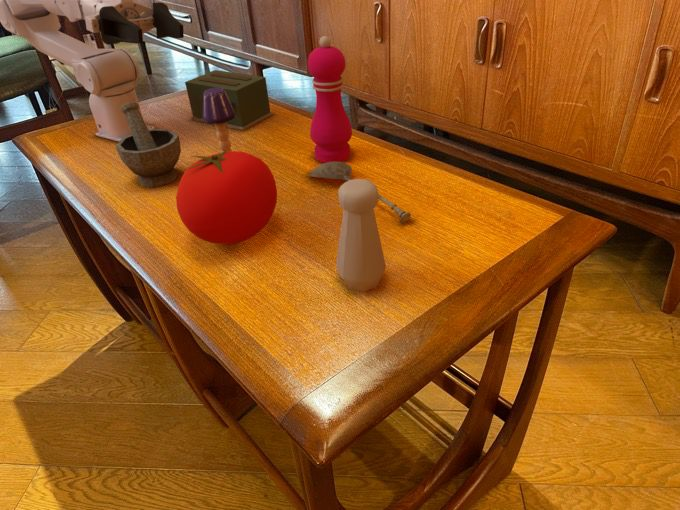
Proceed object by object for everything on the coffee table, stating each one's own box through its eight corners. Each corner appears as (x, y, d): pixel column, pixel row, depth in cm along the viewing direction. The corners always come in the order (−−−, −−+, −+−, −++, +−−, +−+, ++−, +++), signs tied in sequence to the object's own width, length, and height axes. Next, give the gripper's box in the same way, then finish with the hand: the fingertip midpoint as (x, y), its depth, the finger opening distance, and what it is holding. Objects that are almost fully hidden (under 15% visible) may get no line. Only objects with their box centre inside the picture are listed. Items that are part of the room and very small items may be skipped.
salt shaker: (335, 268, 63) (328, 174, 55) (381, 263, 63) (380, 169, 55) (339, 298, 58) (332, 200, 50) (389, 294, 58) (389, 195, 51)
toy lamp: (214, 198, 79) (189, 92, 69) (236, 186, 82) (215, 82, 72) (235, 206, 77) (213, 98, 67) (257, 193, 80) (238, 87, 70)
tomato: (299, 235, 69) (289, 158, 62) (203, 272, 64) (181, 192, 57) (261, 199, 78) (249, 129, 71) (174, 229, 72) (152, 155, 66)
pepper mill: (338, 168, 85) (331, 43, 73) (304, 159, 89) (291, 39, 77) (360, 152, 90) (357, 32, 78) (327, 144, 93) (319, 29, 82)
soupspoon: (335, 167, 87) (303, 181, 84) (332, 149, 85) (300, 163, 82) (423, 214, 71) (387, 233, 69) (423, 193, 70) (386, 211, 67)
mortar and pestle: (196, 179, 85) (178, 109, 78) (141, 198, 80) (117, 126, 73) (170, 158, 92) (153, 93, 85) (119, 174, 88) (96, 107, 81)
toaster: (187, 122, 107) (178, 83, 102) (222, 105, 114) (215, 68, 109) (238, 133, 100) (231, 92, 95) (272, 114, 107) (266, 76, 103)
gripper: (65, -12, 79) (117, 9, 73) (146, -15, 89) (197, 3, 83) (73, 36, 83) (123, 59, 77) (149, 28, 93) (198, 48, 87)
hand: (161, 33), depth 80 cm, fingers open, 7 cm apart
